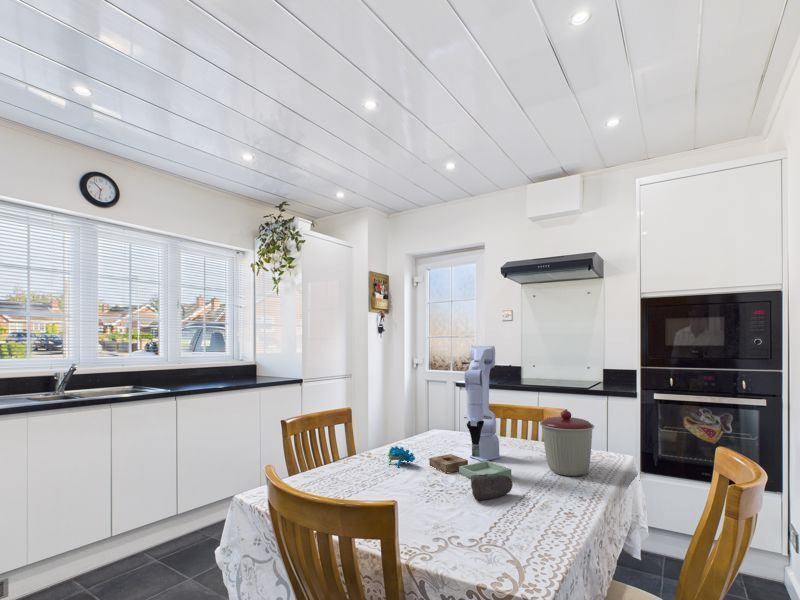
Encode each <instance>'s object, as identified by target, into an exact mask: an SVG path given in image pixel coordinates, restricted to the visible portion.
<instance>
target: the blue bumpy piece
mask: <svg viewBox="0 0 800 600" xmlns="http://www.w3.org/2000/svg"><path fill="white" fill-rule="evenodd" d="M387 456H388V459H389V460H388V463H390V464H391V463H392V461H397V464H396V467H397V466H399V467H400V465H401V463H402V462H401V461H404V462H406V461H407V462H409V461H410V462H411V463H413V462H414V461H415V460H416V457H415V456H414V452H410V450H409V449H407V448H406V449H404V447H402V446H400V447H398V446H397V445H395V446H391V447H390V449H389V450H388V454H387ZM407 462H406V463H407ZM410 462H409V463H410Z"/></svg>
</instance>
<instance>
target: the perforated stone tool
mask: <svg viewBox="0 0 800 600" xmlns="http://www.w3.org/2000/svg"><path fill="white" fill-rule="evenodd" d="M470 487H471V488H470V489H472V497H474V498H473V499H474V500H476V501H477V500H478V501H479V500H484V501H485V500H492V499H496V498H500V497H503V496H505V495H507V494H509V493H510V492H511V490H512V489H513V480H512V478H511V477H507V476H505V475H501V474H484V475H481V474H480V475H473V476H471V479H470Z"/></svg>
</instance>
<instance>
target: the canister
mask: <svg viewBox="0 0 800 600" xmlns="http://www.w3.org/2000/svg"><path fill="white" fill-rule="evenodd" d="M539 425H540V426H541V431H542V438H543V445H544V452H545V457H546V462H547V466H548V468H549V469H550V471H552V472H553V473H556V474H558V475H561V476H567V477H579V476H584V475H585V474H587V473H588V471H589V470H590V463H591V455H592V442H593V430H594V429H595V425H594V424H593V423H592V422H589V420H586V419H583V418H579V417H578V418H577V417H572V413H571V411H569V410H562V411H561V412H560V416H552V417H547V418H544V419H543V420H541V421H540V422H539Z"/></svg>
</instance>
